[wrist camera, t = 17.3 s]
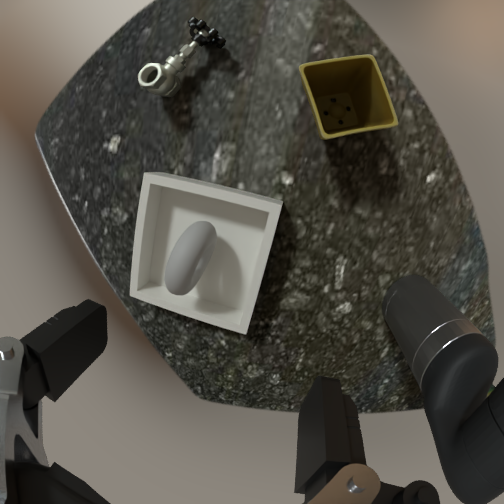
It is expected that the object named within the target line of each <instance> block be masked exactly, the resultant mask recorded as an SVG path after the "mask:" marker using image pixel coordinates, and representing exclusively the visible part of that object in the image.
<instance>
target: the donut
mask: <svg viewBox="0 0 504 504" xmlns="http://www.w3.org/2000/svg"><path fill="white" fill-rule="evenodd" d="M216 241H217V233H216V230H215V227H214V226H213V225H212V224H211V223H210V222H207V221H197V222H195V223H193V224H192V225H190V226H189V227H188V228H187V229H186V230H185V231H184V232H183V233H182V235H181V236H180V238H179V239H178V241H177V242H176V244H175V246H174V248H173V250H172V252H171V254H170V257H169V259H168V261H167V265H166V269H165V276H164V281H165V285H166V288H167V289H168V291H169V292H170V293H172V294H174V295H186V294H187V293H189V292H190V291H191V290H192V289H193V288H194V287H195V285H196V284H197V282H198V281H199V279H200V278H201V276H202V274H203V272H204V271H205V269H206V267H207V265H208V263H209V260H210V258H211V256H212V253H213V251H214V248H215V245H216Z"/></svg>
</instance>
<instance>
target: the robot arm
mask: <svg viewBox="0 0 504 504" xmlns="http://www.w3.org/2000/svg"><path fill="white" fill-rule="evenodd" d="M382 312H383V316H384V318H385V320H386V322H387V324H388V326H389V328H390V329H391V332H392V333H393V335H394V337H395V339H396V341H397V343H398V345H399V347H400V349H401V351H402V353H403V354H404V356H405V358H406V360H407V362H408V364H409V366H410V368H411V371H412V373H413V375H414V377H415V379H416V381H417V383H418V385H419V387H420V389H421V391H422V394H423V396H424V409H425V413H426V416H427V419H428V422H429V424H430V427H431V431H432V434H433V437H434V441H435V445H436V448H437V452H438V456H439V459H440V463H441V466H442V469H443V472H444V475H445V477H446V480H447V482H448V485H449V486H450V488H451V490H452V492H453V493H454V494H455V496H456V497H457V498H458V499H459V500H460V501H461V502H462V503H464V504H487V503H488V502H490V501H492V500H493V499H495V498H496V497H497V496H499V495H500V494H502V493H503V492H504V378H503V379H502V380H501V381H500V382H499V384H498V385H497V386H496V387H495V388H494V390H493V391H492V392H491V393H490V395H488V397H487V394H488V392H489V390H490V387H491V385H492V383H493V380H494V377H495V375H496V372H497V368H498V355H497V351H496V349H495V347H494V346H493V345H492V344H491V342H490V341H489V340H488V339H487V338H486V337H485V336H484V335H483V334H482V333H481V332H480V331H479V330H478V329H477V328H476V327H475V326H474V325H473V324H472V323H471V322H470V321H469V320H468V319H467V317H466V316H465V315H464V314H463V313H462V312H461V311H460V310H459V309H458V308H457V307H456V306H454V305H453V304H452V303H451V302H450V301H449V300H448V299H447V298H446V297H445V296H444V295H443V294H442V293H441V292H440V291H439V290H438V289H437V288H436V287H435V286H434V285H433V284H431V283H430V282H429V281H428V280H427V279H426V278H424V277H422V276H419V275H409V276H406V277H403V278H401V279H399V280H398V281H396V282H395V283H394V284H393V285H392V286H391V287H390V288H389V290H388V291H387V293H386V295H385V297H384V300H383V305H382ZM107 339H108V337H107V311H106V308H105V306H103V305H101V304H98V303H96V302H94V301H91V300H89V299H88V300H85V301H83V302H82V303H81V304H79V305H78V306H76V307H75V306H73V307H70V308H66V309H63V310H61V311H60V312H58V313H57V314H56V315H54V317H51V318H50V319H48V320H47V322H44V323H43V324H41V325H40V326H38V327H37V328H36V329H34V330H33V331H31V332H30V333H29V334H27V335H26V336H25V337H23V338H22V339H20V340H18V339H16V338H13V337H2V338H0V504H110V503H109V502H108V501H106V500H105V499H104V498H103V497H102V496H100V495H99V494H98V493H97V492H96V491H94V490H93V489H92V488H91V487H90V486H89V485H88V484H87V483H86V482H84V481H83V480H81V479H79V478H78V477H76V476H75V475H73V474H72V473H70V472H69V471H67V470H65V469H64V468H62V467H61V466H60V465H58V464H57V463H55V462H54V463H53V465H52V466H51V467H49V464H48V460H47V456H46V454H45V451H44V447H43V439H42V438H43V437H42V401H41V399H42V398H43V397H44V396H47V397H48V398H49V399H51V400H52V401H54V402H56V400H57V399H58V398H59V397H60V396H61V395H62V394H63V393H64V392H65V391H66V390H67V389H68V388H69V387H70V386H71V385H72V384H73V382H74V381H75V380H76V379H77V378H78V377H79V376H80V375H81V374H82V373H83V372H84V371H85V370H86V369H87V368H88V367H89V366H90V365H91V364H92V363H93V362H94V361H95V360H96V358H98V357H99V356H100V355H101V353H103V351H104V349H105V347H106V345H107ZM486 397H487V398H486ZM358 418H359V417H358V412H357V407H356V405H355V403H354V402H353V400H352V399H351V397H350V396H349V395H344V394H342V390H341V383H340V380H339V379H334V378H329V377H324V376H318V377H317V378H316V380H315V381H314V383H313V385H312V387H311V389H310V391H309V393H308V395H307V396H306V398H305V400H304V402H303V404H302V406H301V409H300V412H299V419H298V441H297V460H296V477H295V491H294V493H300V494H305V502H304V503H303V504H440V501H439V495H438V492H437V490H436V489H435V487H434V486H433V485H432V484H430V483H428V482H426V481H422V480H418V481H414V482H412V483H410V484H409V485H408V486H407V487H405V488H403V487H399V486H395V485H391V484H387V483H383V482H381V481H380V479H379V477H378V475H377V473H376V472H375V471H374V470H373V469H371V468H370V467H368V466H367V465H366V459H365V453H364V447H363V440H362V434H361V430H360V424H359V420H358Z"/></svg>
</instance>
